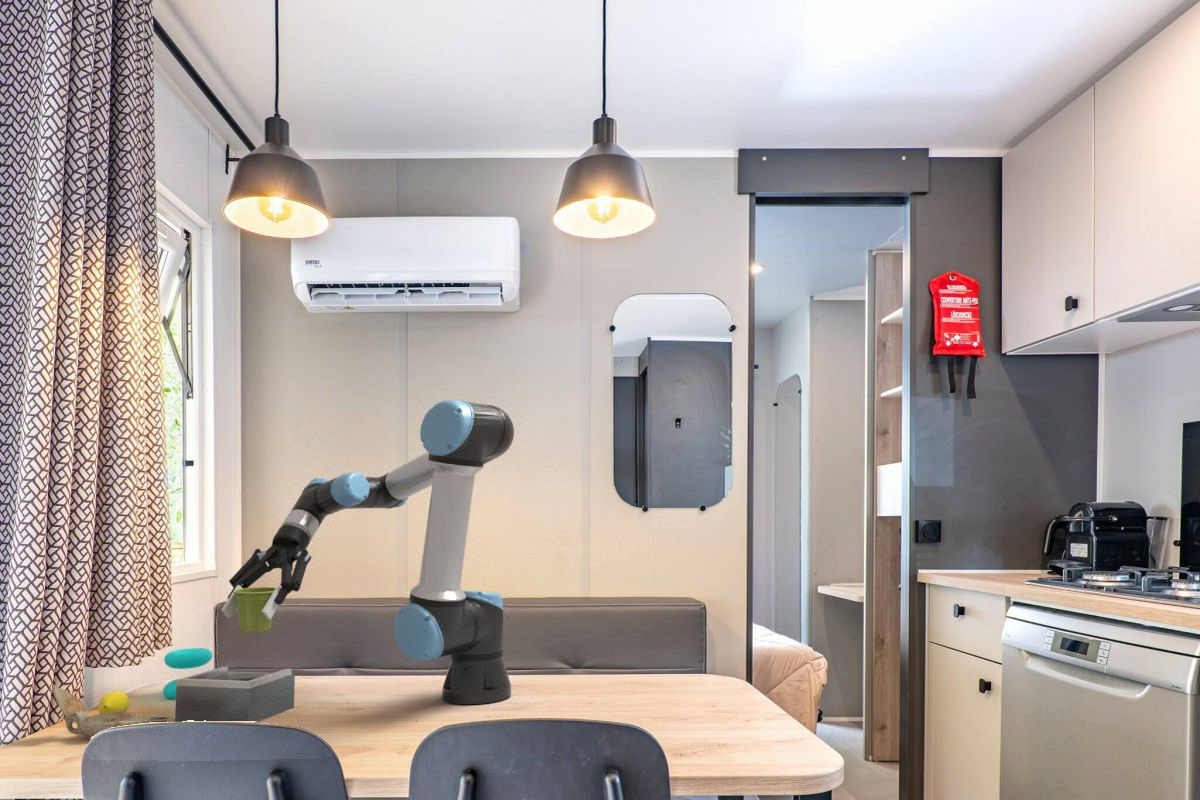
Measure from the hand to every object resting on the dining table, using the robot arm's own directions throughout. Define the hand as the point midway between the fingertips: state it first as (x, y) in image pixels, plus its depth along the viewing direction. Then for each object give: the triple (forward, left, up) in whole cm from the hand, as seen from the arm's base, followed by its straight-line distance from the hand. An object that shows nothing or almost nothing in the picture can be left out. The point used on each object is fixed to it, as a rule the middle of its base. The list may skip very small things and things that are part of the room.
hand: (245, 614), depth 174 cm
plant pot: (0, -3, -4) cm, 5 cm away
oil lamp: (+14, +19, -21) cm, 32 cm away
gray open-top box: (+3, 0, -20) cm, 20 cm away
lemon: (+25, +7, -20) cm, 33 cm away
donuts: (+25, -14, -20) cm, 35 cm away
